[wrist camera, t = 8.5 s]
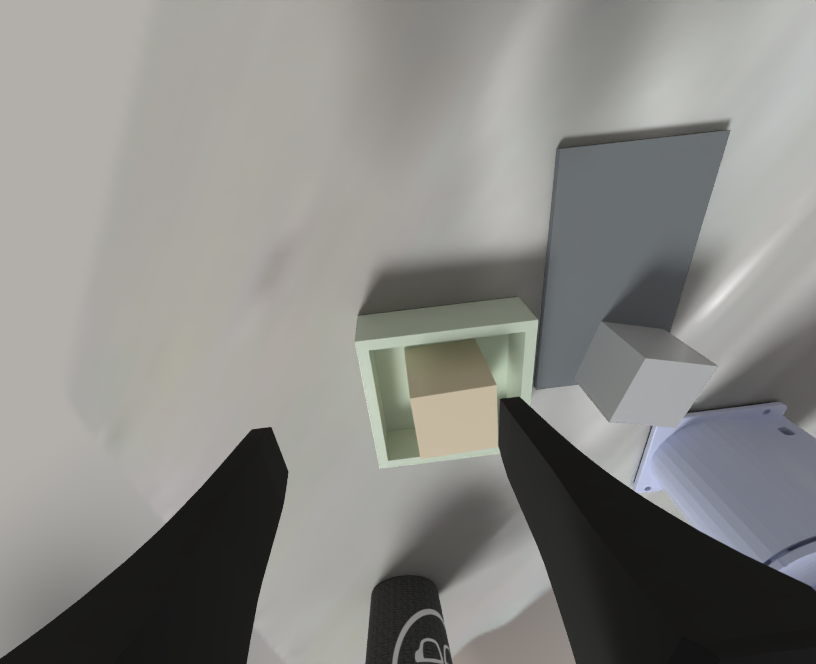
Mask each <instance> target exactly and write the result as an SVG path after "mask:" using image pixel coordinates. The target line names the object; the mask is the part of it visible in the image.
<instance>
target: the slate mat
mask: <svg viewBox="0 0 816 664" xmlns="http://www.w3.org/2000/svg"><path fill="white" fill-rule="evenodd" d="M729 133H730V130H722V131H713V132H704V133H695V134H686V135H677V136H667V137H658V138H649V139H640V140H631V141H622V142H613V143H604V144H595V145H586V146H577V147H568V148H559V149H557V150H556V161H555V171H554V182H553V192H552V202H551V213H550V223H549V234H548V244H547V254H546V265H545V275H544V286H543V296H542V306H541V317H540V327H539V338H538V348H537V358H536V369H535V379H534V387H535V389H536V390H538V389H546V388H554V387H562V386H570V385H578V383H577V382H576V381H575V379H574V378H575V376H576V373H577V371H578V369H579V367H580V365H581V363H582V361H583V359H584V357H585V354H586V352H587V350H588V348H589V346H590V344H591V342H592V340H593V337H594V335H595V333H596V331H597V329H598V327H599V325H600V323H601V321H603V322H611V323H619V324H627V325H635V326H643V327H651V328H659V329H664V330H666V331H667V332H669V333H670V329H671V326H672V323H673V319H674V316H675V313H676V309H677V306H678V303H679V299H680V296H681V293H682V289H683V286H684V283H685V280H686V276H687V273H688V270H689V266H690V263H691V260H692V256H693V253H694V250H695V246H696V243H697V240H698V236H699V233H700V230H701V226H702V223H703V220H704V216H705V213H706V210H707V206H708V203H709V200H710V197H711V193H712V190H713V187H714V183H715V180H716V177H717V173H718V170H719V167H720V163H721V160H722V157H723V153H724V150H725V147H726V143H727V140H728V137H729Z"/></svg>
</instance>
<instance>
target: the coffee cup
mask: <svg viewBox="0 0 816 664" xmlns="http://www.w3.org/2000/svg"><path fill="white" fill-rule="evenodd" d="M365 664H453V663H452V658H451V653H450V649H449V644H448V639H447V634H446V629H445V624H444V620H443V615H442V610H441V605H440V600H439V595H438V591H437V587H436V585H435V584H434V583H433V582H432V581H430V580H428V579H426V578H423V577H418V576H400V577H395V578H391V579H388V580H386V581H384V582H382V583H380V584H379V585H378V586H376V587H375V589H374V590H373V592H372V595H371V606H370V617H369V629H368V640H367V652H366V663H365Z"/></svg>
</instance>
